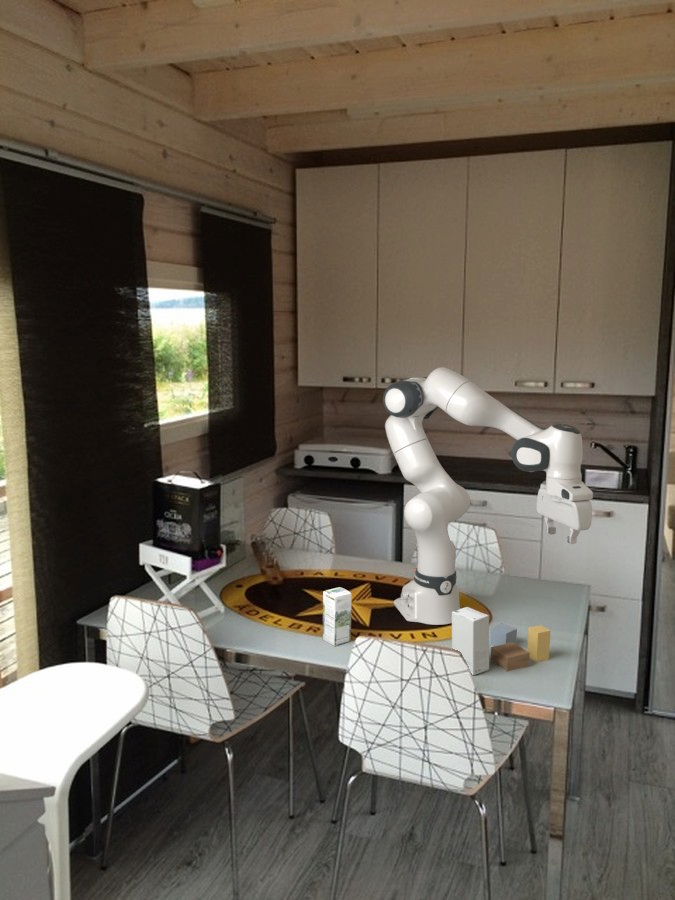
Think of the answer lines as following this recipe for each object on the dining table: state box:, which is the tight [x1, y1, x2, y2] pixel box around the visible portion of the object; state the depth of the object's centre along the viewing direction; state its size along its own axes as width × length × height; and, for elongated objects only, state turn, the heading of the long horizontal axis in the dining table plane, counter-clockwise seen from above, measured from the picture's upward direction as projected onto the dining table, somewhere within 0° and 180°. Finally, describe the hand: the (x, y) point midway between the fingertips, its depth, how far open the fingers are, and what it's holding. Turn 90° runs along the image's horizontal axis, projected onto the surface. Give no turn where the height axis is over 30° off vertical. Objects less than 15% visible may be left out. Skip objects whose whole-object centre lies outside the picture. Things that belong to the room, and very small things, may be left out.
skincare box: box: [451, 606, 490, 676], centre depth 206 cm, size 8×6×15 cm
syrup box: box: [321, 586, 353, 647], centre depth 221 cm, size 6×6×14 cm
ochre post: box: [526, 624, 551, 663], centre depth 212 cm, size 4×4×8 cm
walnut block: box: [489, 642, 530, 672], centre depth 209 cm, size 7×7×4 cm
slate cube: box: [489, 623, 518, 647], centre depth 220 cm, size 5×5×5 cm
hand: (561, 538), depth 211 cm, fingers open, 8 cm apart
